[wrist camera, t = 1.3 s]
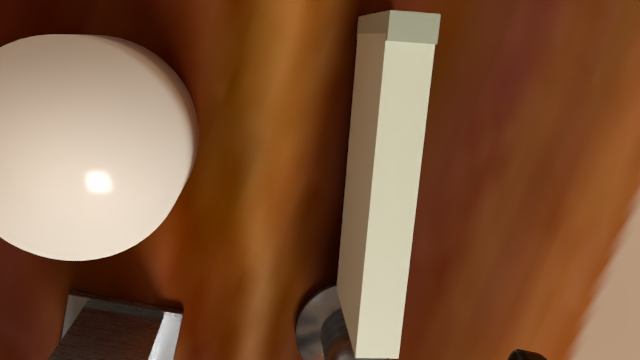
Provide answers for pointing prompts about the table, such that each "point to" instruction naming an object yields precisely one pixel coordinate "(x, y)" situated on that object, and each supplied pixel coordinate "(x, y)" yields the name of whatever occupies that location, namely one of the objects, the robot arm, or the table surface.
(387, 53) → the off-white flat block
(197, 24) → the table surface
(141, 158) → the off-white rounded piece
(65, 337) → the stile post
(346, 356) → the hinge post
